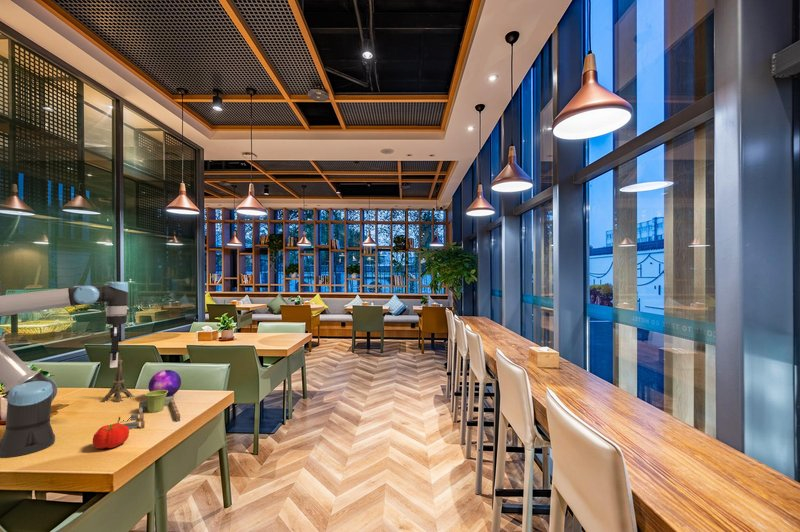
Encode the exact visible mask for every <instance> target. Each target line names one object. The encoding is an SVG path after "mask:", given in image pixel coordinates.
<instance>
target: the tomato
mask: <svg viewBox="0 0 800 532" xmlns="http://www.w3.org/2000/svg"><path fill="white" fill-rule="evenodd" d="M122 424H123V423H121V422H120V423H119V422H115V423H110V424H106V425H103V426H101V427H100V428H99V429H97V431H96V432H95V433H94V435H93V438H92V445H93V446H94V447H95V448H97V449H100V450H102V449H106V448H108V449H113V448H115V447H118V446H120V445H123V444H125V442H126V441H127V440H128V438H129V437H130V436H129V434H130V429H129V428H128V427H127V426H125V425H122Z"/></svg>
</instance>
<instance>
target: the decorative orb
mask: <svg viewBox="0 0 800 532" xmlns="http://www.w3.org/2000/svg"><path fill="white" fill-rule="evenodd" d="M181 386H182V378H181V376H180V374H179V373H178V372H177V371H174V370H171V369H164V370H160V371H158V372H156V373H155V374H153V376H152V377H151V378H150V380H149V381H148V386H147V387H148V392H151V391H157V390H167V391H168V393H167V395H166V397H171V396H174V395H175V394H176V393H177V392H179V390H180V388H181Z"/></svg>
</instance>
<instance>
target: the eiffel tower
mask: <svg viewBox="0 0 800 532" xmlns="http://www.w3.org/2000/svg"><path fill="white" fill-rule="evenodd" d="M123 362H124V361H123V359H121V357H118V367H116V371H115V375H114V379H113V380H112V382H111V383H112V386H111V388H110V389H109V391H108V393H107V394H106V395H105V396H104V397H103V398H102V399H101V400H100V401H99V403H106V402H109V401H110V398H111V397H112V398H115V400H114V403H121V402H124V400H123V399H122V395H121V394H122V393H123V394H124V395H125V398H126V397H127V398H126V399H132V398H134V397H135V395H133V394H132V393H131V391H129V390H128V389H127V387H126V385H125V379H124V375H123V365H122V364H123ZM129 397H130V398H129ZM131 397H132V398H131ZM108 400H109V401H108ZM105 401H106V402H105ZM120 401H121V402H120Z"/></svg>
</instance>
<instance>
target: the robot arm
mask: <svg viewBox="0 0 800 532" xmlns="http://www.w3.org/2000/svg"><path fill="white" fill-rule="evenodd" d="M128 301H129V283H128V282H127V281H109V282H107V284H106V285H74V286H72V287H66V288H64V287H63V288H58V289H49V290H41V291H40V290H39V291H32V292H31V291H30V292H22V293H21V292H20V293H13V294H5V295H0V317H4V316H10V315H11V316H12V315H18V314H19V315H20V314H24V313H31V312H40V311H46V310H52V309H59V308H60V309H61V308H67V307H75V306H83V305H84V306H85V305H91V304H95V303H106V307H105V315H106V316H105V324H106V325H112V327H110V329H109V332H110V339H111V346H110V347H111V348H110V351H109V352H108V354H109V355H110V357H109V359H110V360H109V368H111V369H113V368H117V367H118V360H119V353H121V350H119V341H120V340H119V338H120V337H121V332H122V327H120V325H124V324H126V323H127V319H128V316H127V314H128V310H130V308H129V307H128ZM0 383H2V385H4V390H3V393H4V394H5V395H6V402H7V405H6V420H5V431H4V434H3V436H2V437H1V439H0V458H11V457H13V458H14V457H20V456H24V455H28V454H33V453H37V452H38V451H42V450H44V449H47V448H49V447H51V446H52V445H54V444H55V442H56V435H55V433H54V430H53V428H52V425H51V414H52V413H51V412H52V411H51V410H52V402H53V401H54V400H55V398H56V397H57V394H58V385H57V383H56V382H55V381H54V380H53V379H51V378H49V377H46V376H45V374H43V372H41V371H40V370H34V369H33V370H32V369H31V368H30V367H29V366H28V365H27V364H26V363H25V362H24V360H22V359H21V358H19V356H18V355H17V354H16V353H15V352H14V351H13V350H12V349H11V348H10V347H9V346H7V344H6V343H5V342H3V340H2V339H0ZM19 455H20V456H19Z"/></svg>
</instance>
